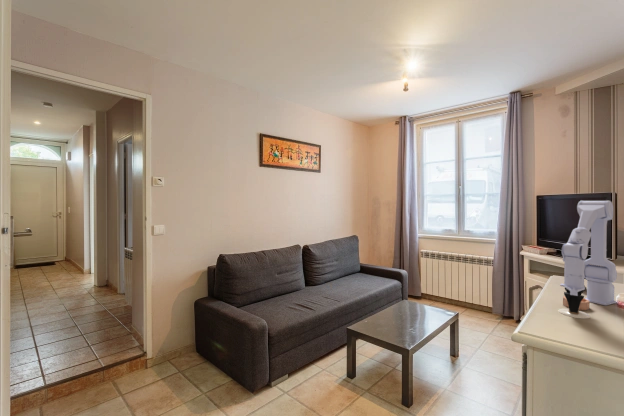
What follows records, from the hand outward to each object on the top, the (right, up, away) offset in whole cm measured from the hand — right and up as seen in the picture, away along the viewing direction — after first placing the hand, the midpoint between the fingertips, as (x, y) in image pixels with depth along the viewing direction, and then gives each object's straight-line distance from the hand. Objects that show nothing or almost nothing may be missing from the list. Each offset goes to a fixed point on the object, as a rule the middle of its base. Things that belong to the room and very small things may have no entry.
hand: (573, 309), depth 113 cm
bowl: (+8, -1, +8) cm, 11 cm away
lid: (0, -2, 0) cm, 2 cm away
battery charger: (+30, -1, +29) cm, 42 cm away
